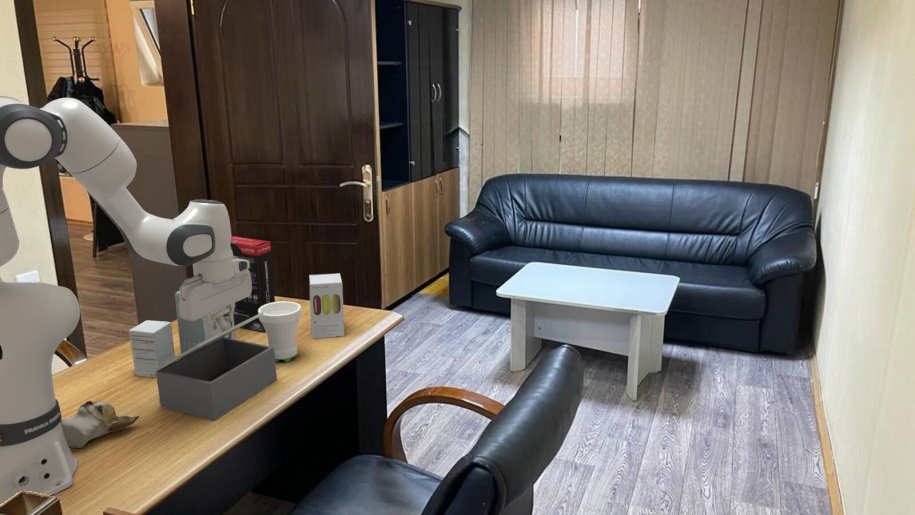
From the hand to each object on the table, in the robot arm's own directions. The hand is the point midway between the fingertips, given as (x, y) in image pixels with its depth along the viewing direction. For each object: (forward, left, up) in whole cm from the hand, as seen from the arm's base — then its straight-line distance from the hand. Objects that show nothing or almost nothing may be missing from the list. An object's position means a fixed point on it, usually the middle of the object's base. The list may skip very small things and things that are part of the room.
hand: (219, 326), depth 158 cm
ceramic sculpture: (-26, +13, -18) cm, 34 cm away
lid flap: (0, +3, -4) cm, 5 cm away
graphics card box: (+38, +25, -18) cm, 49 cm away
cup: (+23, +1, -18) cm, 29 cm away
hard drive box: (+17, +21, -18) cm, 33 cm away
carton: (0, +2, -18) cm, 18 cm away
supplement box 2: (+43, 0, -18) cm, 47 cm away
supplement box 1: (+3, +26, -18) cm, 32 cm away
